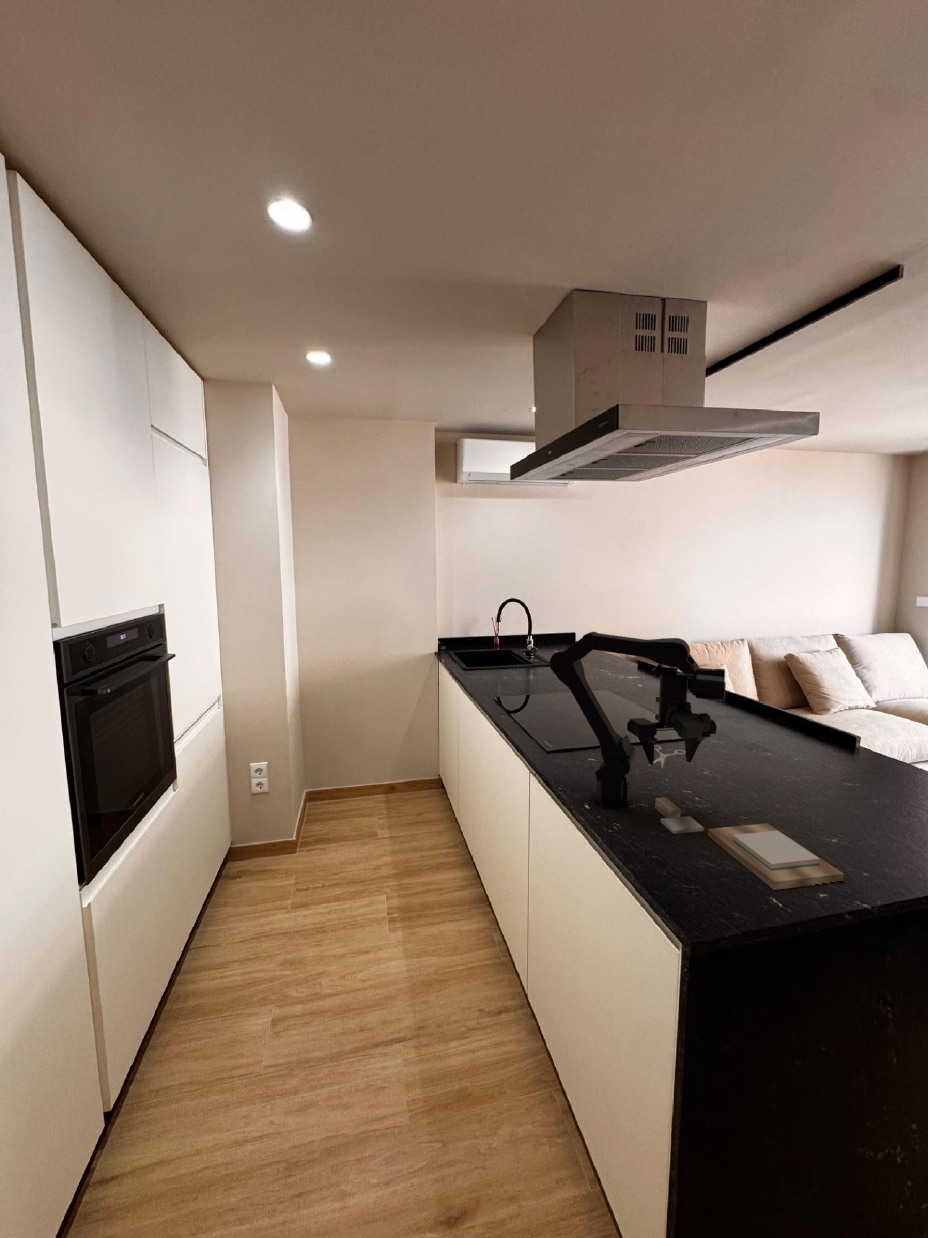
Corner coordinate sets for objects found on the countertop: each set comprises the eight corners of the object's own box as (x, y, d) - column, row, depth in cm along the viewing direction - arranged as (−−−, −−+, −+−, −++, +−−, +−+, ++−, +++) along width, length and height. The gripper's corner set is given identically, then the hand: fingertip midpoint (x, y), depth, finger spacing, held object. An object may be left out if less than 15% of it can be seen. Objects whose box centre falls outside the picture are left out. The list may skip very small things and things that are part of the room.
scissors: (687, 749, 155) (674, 770, 138) (687, 751, 155) (674, 773, 138) (651, 742, 160) (635, 762, 144) (651, 745, 161) (635, 765, 144)
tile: (732, 840, 101) (771, 870, 91) (733, 835, 101) (771, 864, 91) (776, 836, 103) (819, 864, 93) (777, 830, 103) (819, 858, 93)
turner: (673, 834, 107) (674, 822, 106) (646, 809, 117) (646, 799, 117) (703, 831, 108) (704, 820, 107) (673, 806, 119) (674, 796, 118)
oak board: (773, 890, 88) (774, 882, 88) (707, 835, 106) (708, 829, 106) (842, 881, 90) (843, 873, 90) (766, 830, 108) (767, 823, 108)
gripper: (653, 707, 103) (650, 781, 104) (735, 703, 106) (731, 774, 107) (627, 693, 113) (624, 760, 115) (702, 690, 117) (698, 755, 118)
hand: (670, 763), depth 114 cm, fingers open, 9 cm apart
